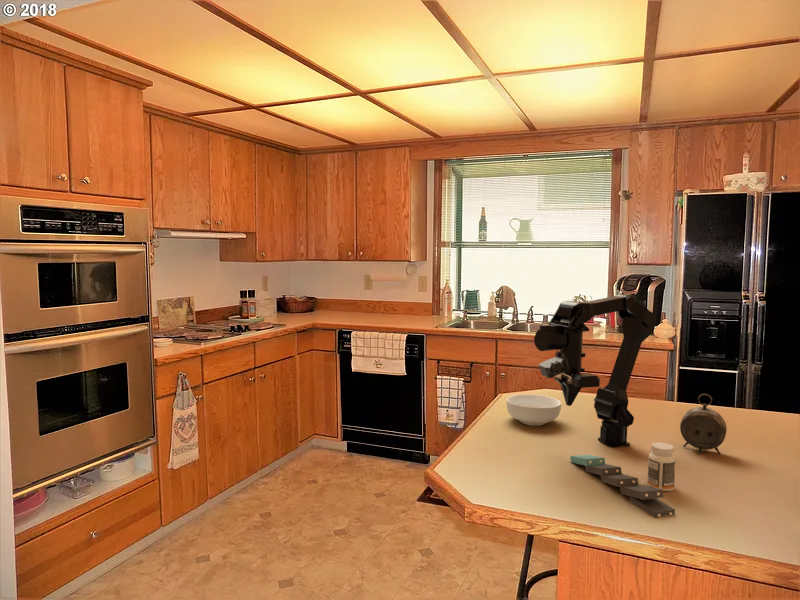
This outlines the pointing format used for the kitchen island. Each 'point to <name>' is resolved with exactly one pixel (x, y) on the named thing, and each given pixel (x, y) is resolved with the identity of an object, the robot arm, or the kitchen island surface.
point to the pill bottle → (661, 467)
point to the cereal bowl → (533, 408)
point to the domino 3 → (619, 480)
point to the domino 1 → (587, 460)
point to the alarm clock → (703, 428)
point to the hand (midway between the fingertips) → (568, 405)
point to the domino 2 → (604, 469)
